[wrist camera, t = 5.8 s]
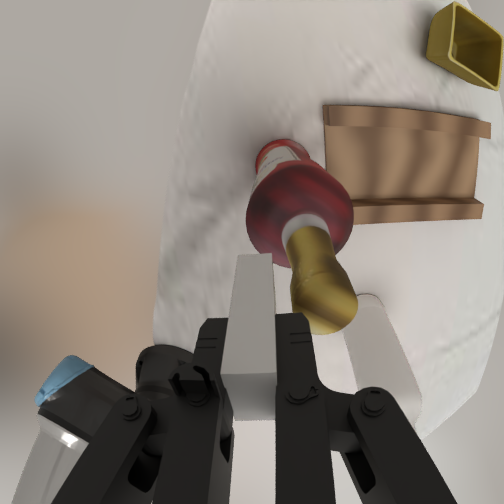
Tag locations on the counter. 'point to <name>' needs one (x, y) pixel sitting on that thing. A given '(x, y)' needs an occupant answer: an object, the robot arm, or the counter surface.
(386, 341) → the bottle
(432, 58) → the flower pot
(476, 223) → the counter surface
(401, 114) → the rest
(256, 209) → the liquor
